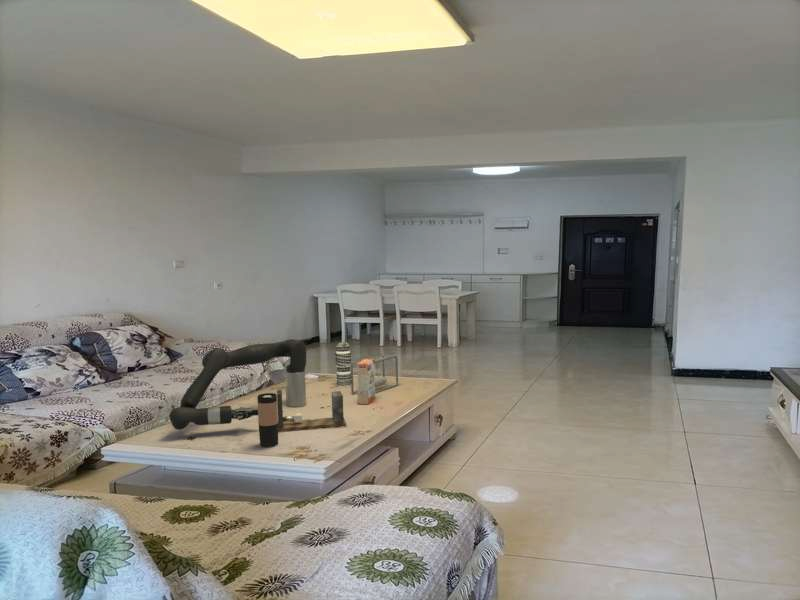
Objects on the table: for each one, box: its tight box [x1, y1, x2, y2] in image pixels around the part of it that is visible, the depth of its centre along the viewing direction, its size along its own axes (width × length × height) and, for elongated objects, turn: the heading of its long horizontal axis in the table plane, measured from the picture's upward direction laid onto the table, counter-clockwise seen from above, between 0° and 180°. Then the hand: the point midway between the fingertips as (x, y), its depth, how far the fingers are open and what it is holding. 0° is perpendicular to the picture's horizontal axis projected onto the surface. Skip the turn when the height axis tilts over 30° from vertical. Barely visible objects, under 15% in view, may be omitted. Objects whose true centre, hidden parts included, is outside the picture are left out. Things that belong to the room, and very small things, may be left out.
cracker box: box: [356, 358, 376, 405], centre depth 309 cm, size 14×6×21 cm, turn 168°
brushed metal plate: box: [276, 389, 295, 427], centre depth 265 cm, size 7×9×14 cm
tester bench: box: [278, 390, 347, 433], centre depth 267 cm, size 32×11×14 cm, turn 102°
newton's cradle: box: [350, 354, 399, 395], centre depth 334 cm, size 30×10×18 cm, turn 146°
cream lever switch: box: [294, 411, 303, 422], centre depth 268 cm, size 3×7×3 cm, turn 12°
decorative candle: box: [334, 341, 352, 388], centre depth 346 cm, size 9×9×25 cm
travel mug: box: [257, 392, 279, 448], centre depth 242 cm, size 8×8×20 cm
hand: (261, 411), depth 263 cm, fingers closed
